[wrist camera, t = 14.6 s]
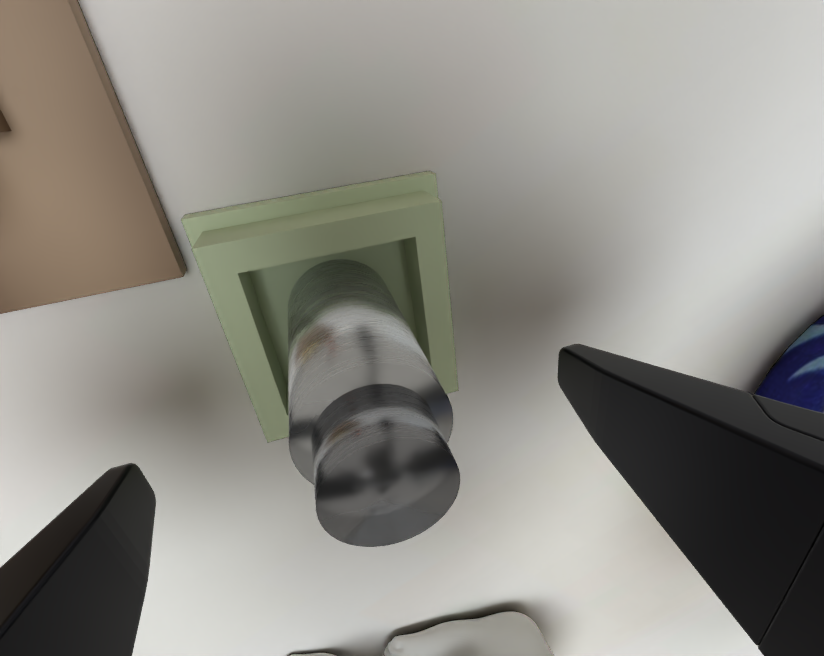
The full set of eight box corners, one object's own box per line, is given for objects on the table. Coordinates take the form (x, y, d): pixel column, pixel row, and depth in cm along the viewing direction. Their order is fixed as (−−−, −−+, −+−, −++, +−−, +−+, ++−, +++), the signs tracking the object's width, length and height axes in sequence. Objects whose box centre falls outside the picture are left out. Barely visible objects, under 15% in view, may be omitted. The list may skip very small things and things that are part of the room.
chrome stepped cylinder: (382, 249, 13) (477, 394, 6) (397, 339, 14) (486, 527, 8) (274, 271, 12) (262, 454, 6) (302, 362, 14) (317, 583, 8)
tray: (429, 170, 13) (454, 181, 11) (448, 363, 16) (470, 396, 14) (185, 214, 12) (166, 235, 10) (261, 411, 15) (257, 455, 13)
